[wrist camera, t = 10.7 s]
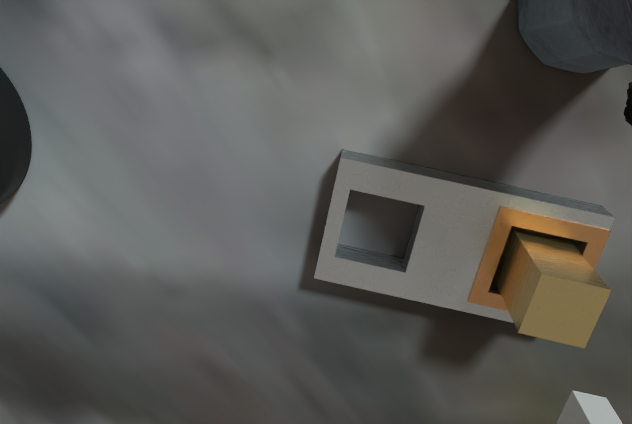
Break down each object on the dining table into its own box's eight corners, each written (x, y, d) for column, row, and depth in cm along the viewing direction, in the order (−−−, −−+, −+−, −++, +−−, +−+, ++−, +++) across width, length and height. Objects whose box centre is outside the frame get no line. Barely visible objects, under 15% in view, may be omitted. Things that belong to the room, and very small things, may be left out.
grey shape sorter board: (316, 264, 45) (313, 279, 42) (342, 149, 41) (340, 158, 39) (554, 317, 44) (565, 335, 42) (601, 205, 41) (616, 218, 38)
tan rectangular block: (490, 270, 44) (517, 332, 35) (508, 221, 42) (541, 274, 34) (543, 283, 44) (584, 348, 35) (563, 234, 42) (611, 290, 34)
